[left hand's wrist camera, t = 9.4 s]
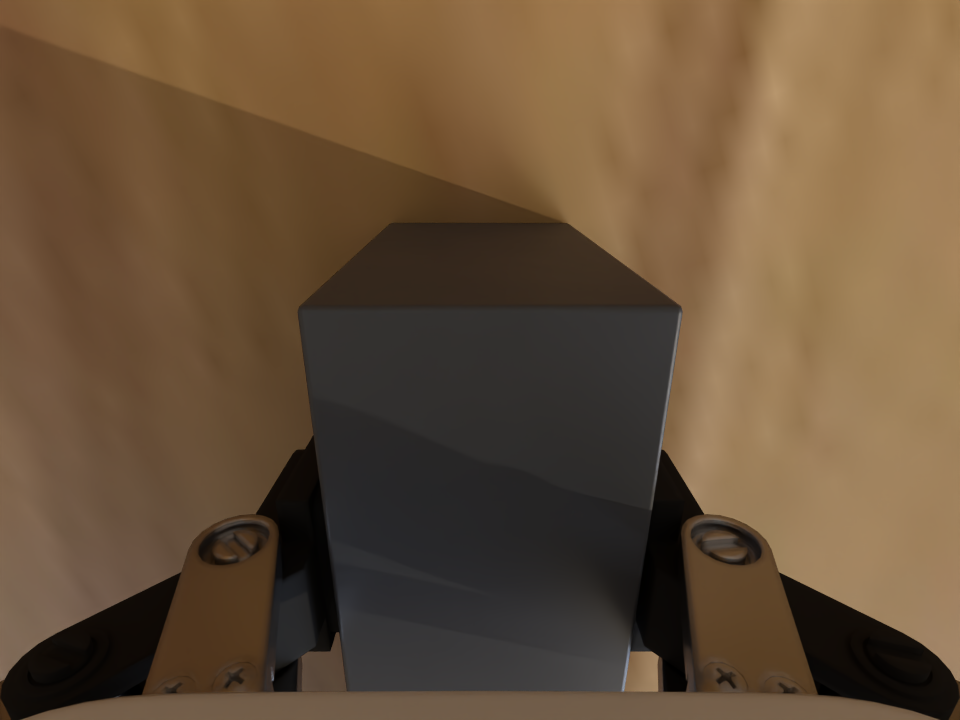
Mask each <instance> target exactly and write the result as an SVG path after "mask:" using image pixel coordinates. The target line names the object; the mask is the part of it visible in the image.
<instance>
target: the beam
mask: <svg viewBox="0 0 960 720" xmlns="http://www.w3.org/2000/svg"><path fill="white" fill-rule="evenodd" d="M681 318H682V308H681V306H680V305H679V304H677V303H676V302H674V301H673V300H672V299H670V298H669V297H668V296H666V295H665V294H664V293H662V292H661V291H659V290H658V289H657V288H655V287H654V286H653V285H651V284H650V283H649V282H647V281H646V280H644V279H643V278H642V277H640V276H639V275H638V274H636V273H635V272H634V271H632V270H631V269H629V268H628V267H627V266H625V265H624V264H623V263H621V262H620V261H619V260H617V259H616V258H614V257H613V256H612V255H610V254H609V253H608V252H606V251H605V250H604V249H602V248H601V247H599V246H598V245H597V244H595V243H594V242H593V241H591V240H590V239H589V238H587V237H586V236H584V235H583V234H582V233H580V232H579V231H578V230H576V229H575V228H573V227H572V226H571V225H569V224H567V223H391V224H389V225H388V226H387V227H386V228H385V229H384V230H383V231H381V232H380V233H379V234H378V235H377V236H376V237H375V238H374V239H373V240H372V241H371V242H369V243H368V244H367V245H366V246H365V247H364V248H363V249H362V250H361V251H360V252H359V253H357V254H356V255H355V256H354V257H353V258H352V259H351V260H350V261H349V262H348V263H347V264H345V265H344V266H343V267H342V268H341V269H340V270H339V271H338V272H337V273H336V274H334V275H333V276H332V277H331V278H330V279H329V280H328V281H327V282H326V283H325V284H324V285H322V286H321V287H320V288H319V289H318V290H317V291H316V292H315V293H314V294H313V295H312V296H310V297H309V298H308V299H307V300H306V301H305V302H304V303H303V304H302V305H301V306H299V309H298V319H299V326H300V334H301V342H302V349H303V357H304V365H305V372H306V380H307V388H308V395H309V403H310V411H311V418H312V426H313V434H314V442H315V449H316V457H317V465H318V472H319V480H320V488H321V495H322V503H323V511H324V518H325V526H326V534H327V542H328V549H329V557H330V565H331V572H332V580H333V588H334V595H335V603H336V611H337V618H338V626H339V634H340V642H341V649H342V657H343V665H344V672H345V680H346V688H347V692H372V691H588V692H624V688H625V682H626V675H627V669H628V662H629V656H630V649H631V643H632V636H633V630H634V623H635V617H636V610H637V604H638V597H639V591H640V585H641V578H642V572H643V565H644V559H645V552H646V546H647V539H648V533H649V526H650V520H651V513H652V507H653V500H654V494H655V487H656V481H657V474H658V468H659V461H660V455H661V448H662V442H663V435H664V429H665V422H666V416H667V409H668V403H669V396H670V390H671V383H672V377H673V370H674V364H675V357H676V351H677V344H678V338H679V331H680V325H681Z"/></svg>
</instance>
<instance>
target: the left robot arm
mask: <svg viewBox="0 0 960 720" xmlns="http://www.w3.org/2000/svg"><path fill="white" fill-rule="evenodd" d="M336 632H339V626H338V618H337V611H336V603H335V595H334V588H333V580H332V572H331V565H330V557H329V549H328V542H327V534H326V526H325V518H324V511H323V503H322V495H321V488H320V480H319V472H318V465H317V457H316V449H315V442H314V435H313V437H312V438H311V440H310V442H309V444H308V445H307V447H306V449H305V450H296V451H295V452H294V453H293V454H292V456H291V458H290V459H289V461H288V463H287V464H286V466H285V467H284V469H283V471H282V472H281V474H280V476H279V477H278V479H277V481H276V482H275V484H274V485H273V487H272V489H271V490H270V492H269V494H268V495H267V497H266V498H265V500H264V502H263V503H262V505H261V507H260V508H259V510H258V511H257V513H256V515H255V514H250V515H239V516H235V517H231V518H227V519H225V520H222V521H220V522H218V523H216V524H213V525H212V526H210V527H209V528H207V529H206V530H204V531H203V532H202V533H201V534H200V535H199V536H198V537H197V538H196V539H195V540H194V541H193V542H192V544H191V546H190V548H189V550H188V553H187V556H186V559H185V562H184V566H183V569H182V572H181V573H179V574H177V575H175V576H172V577H170V578H168V579H166V580H164V581H162V582H160V583H158V584H156V585H154V586H152V587H150V588H148V589H146V590H144V591H142V592H140V593H138V594H136V595H134V596H132V597H130V598H128V599H126V600H124V601H122V602H119V603H117V604H115V605H113V606H111V607H109V608H107V609H105V610H103V611H101V612H99V613H97V614H95V615H93V616H91V617H89V618H87V619H85V620H83V621H81V622H79V623H77V624H75V625H73V626H71V627H69V628H67V629H64V630H62V631H60V632H58V633H56V634H55V635H53V636H51V637H49V638H48V639H46V640H44V641H43V642H41V643H39V644H38V645H36V646H35V647H34V648H33V649H31V650H30V651H29V652H28V653H26V654H25V655H24V656H23V657H22V658H21V659H20V660H19V661H18V662H17V663H16V664H15V665H14V666H13V668H12V669H11V670H10V671H9V673H8V675H7V676H6V678H5V680H3V681H1V682H0V720H960V682H959V681H957V680H955V678H954V676H953V675H952V673H951V671H950V670H949V669H948V668H947V666H946V665H945V664H944V663H943V662H942V661H941V660H940V659H939V658H938V657H937V656H936V655H935V654H934V653H932V652H931V651H930V650H929V649H927V648H926V647H925V646H924V645H922V644H921V643H919V642H917V641H916V640H914V639H912V638H911V637H909V636H907V635H905V634H904V633H902V632H900V631H898V630H896V629H893V628H891V627H889V626H887V625H885V624H883V623H881V622H879V621H877V620H875V619H873V618H871V617H869V616H867V615H865V614H863V613H861V612H859V611H857V610H855V609H853V608H851V607H849V606H847V605H845V604H843V603H841V602H838V601H836V600H834V599H832V598H830V597H828V596H826V595H824V594H822V593H820V592H818V591H816V590H814V589H812V588H810V587H808V586H806V585H804V584H802V583H800V582H798V581H796V580H794V579H792V578H790V577H788V576H785V575H783V574H781V573H779V572H778V569H777V566H776V562H775V559H774V556H773V553H772V550H771V548H770V546H769V544H768V542H767V541H766V540H765V539H764V538H763V537H762V536H761V535H760V534H759V533H758V532H757V531H756V530H754V529H753V528H751V527H750V526H748V525H747V524H744V523H742V522H740V521H738V520H735V519H733V518H729V517H725V516H721V515H710V514H705V515H704V513H703V511H702V510H701V508H700V507H699V505H698V503H697V502H696V500H695V498H694V497H693V495H692V494H691V492H690V490H689V489H688V487H687V485H686V484H685V482H684V480H683V479H682V477H681V476H680V474H679V472H678V471H677V469H676V467H675V466H674V464H673V463H672V461H671V459H670V458H669V456H668V454H667V453H666V452H665V451H664V450H661V455H660V461H659V468H658V474H657V481H656V487H655V494H654V500H653V507H652V513H651V520H650V526H649V533H648V539H647V546H646V552H645V559H644V565H643V572H642V578H641V585H640V591H639V597H638V604H637V610H636V617H635V623H634V630H633V636H632V643H631V649H630V651H652V652H654V653H655V654H657V655H658V656H659V659H658V692H588V691H372V692H302V659H301V656H302V655H304V654H305V653H306V652H308V651H331V647H332V644H333V641H334V637H335V634H336Z"/></svg>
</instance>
